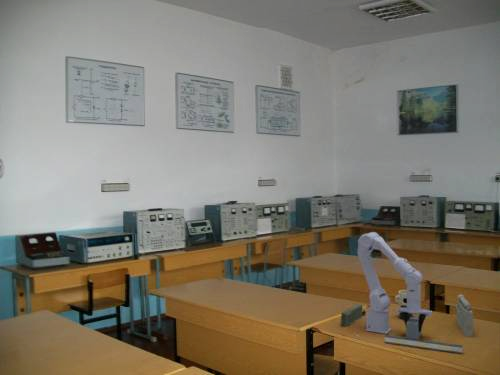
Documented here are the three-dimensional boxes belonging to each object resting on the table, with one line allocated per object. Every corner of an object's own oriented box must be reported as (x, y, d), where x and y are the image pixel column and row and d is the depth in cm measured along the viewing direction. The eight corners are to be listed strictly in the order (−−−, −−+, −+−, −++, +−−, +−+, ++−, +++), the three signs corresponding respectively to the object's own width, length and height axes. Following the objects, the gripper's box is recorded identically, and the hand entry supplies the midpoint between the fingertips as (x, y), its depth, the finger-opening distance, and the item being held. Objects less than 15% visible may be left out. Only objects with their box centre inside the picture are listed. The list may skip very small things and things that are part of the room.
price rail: (384, 343, 217) (384, 336, 217) (386, 341, 219) (385, 334, 219) (462, 354, 203) (462, 346, 202) (462, 352, 204) (462, 345, 204)
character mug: (398, 320, 249) (398, 293, 249) (392, 316, 256) (392, 290, 256) (420, 319, 250) (420, 292, 250) (413, 315, 258) (413, 289, 257)
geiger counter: (475, 305, 223) (464, 291, 248) (460, 304, 224) (450, 291, 249) (475, 337, 224) (463, 320, 248) (459, 336, 225) (449, 320, 249)
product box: (406, 338, 222) (406, 322, 222) (410, 332, 230) (410, 317, 230) (417, 340, 220) (417, 323, 220) (421, 334, 228) (421, 318, 228)
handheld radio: (339, 326, 242) (361, 313, 262) (346, 327, 240) (367, 315, 260) (340, 312, 242) (361, 300, 262) (346, 313, 240) (368, 302, 260)
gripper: (394, 299, 225) (394, 330, 225) (429, 303, 218) (429, 335, 218) (398, 296, 231) (398, 326, 231) (432, 299, 224) (432, 330, 224)
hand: (413, 330), depth 225 cm, fingers closed on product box, 4 cm apart
